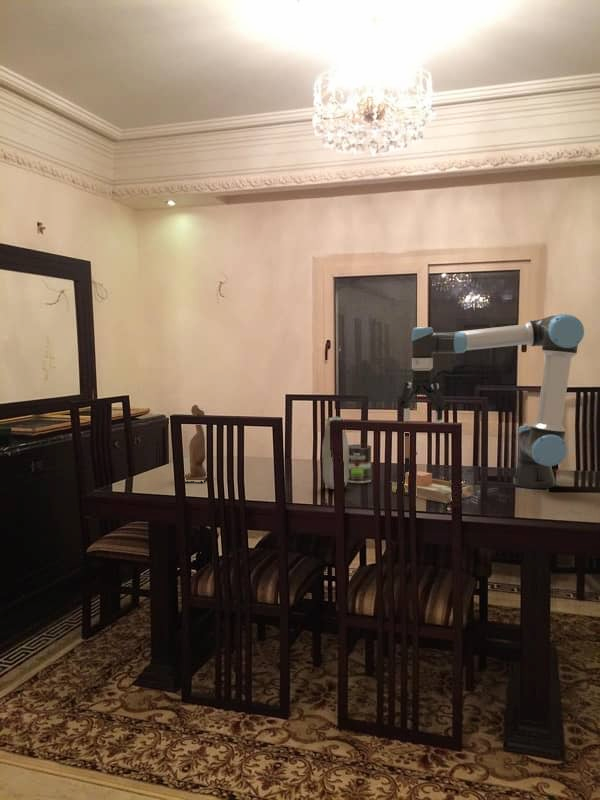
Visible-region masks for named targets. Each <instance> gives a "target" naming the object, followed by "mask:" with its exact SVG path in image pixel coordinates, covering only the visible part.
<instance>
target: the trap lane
mask: <svg viewBox="0 0 600 800" xmlns="http://www.w3.org/2000/svg"><path fill="white" fill-rule="evenodd" d="M391 482H392V492H391V493H396V489H397V483H398V482H395V481H391ZM451 482H452V481H447V480H443V479H437V478H432V484H430V485H426V486H417V497H416V498H419V499H424V500H428V501H434V502H437V503H438V502H439V503H442V504H450V503H452V502H451ZM461 484H462V496H463V499H466V498H469V497H472V496H473V494H474V489H473V485H472V484H471V485H470V484H465V483H461ZM404 488H405V492H408V484H407V483H405V484H404ZM396 494H397V493H396Z"/></svg>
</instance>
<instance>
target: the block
mask: <svg viewBox="0 0 600 800" xmlns="http://www.w3.org/2000/svg"><path fill="white" fill-rule="evenodd" d="M408 476H409V472H407V473H405V478H404V482H405V483H407V484H408ZM432 479H433V473H432V472H425V471H420V470H417V486H426V485H430V484H432Z"/></svg>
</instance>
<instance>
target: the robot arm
mask: <svg viewBox="0 0 600 800" xmlns="http://www.w3.org/2000/svg"><path fill="white" fill-rule="evenodd" d="M411 332H412V333H411V369H412V370H411V380H412V382H411V381H407V382H405V383H404V389H403V391H402V394H401V395H400V396H401V397H399V400H398V402H397V406H398V407H399V408H401V409H402V411H401V412H402V413H401V414H402V417H403V422H404V421H410V422H411V408H410V405H411V404H412V403H413V401H414V400H415V398H416V397H417V396H426V397H427V398H428V400H429V402H430V403H431V404H432V406H433V408H434V409H435V410H434V423H442V422H441V421H442V420H443V411H445V410H448V405H447V403H446V401H445V398H444V395H443V392H442V391H441V384H440V383H433V375H434V374H433V373H434V371H433V370H432V369H433V368H434V364H433V363H434V361H433V360H434V359H433V358H434V355H433V354H463V353H465V352H466V351H472V350H483V349H492V348H493V349H494V348H502V347H503V348H504V347H513V346H522V345H523V346H524V345H526V346H528V347H541V352H542V353H543V354H544V355H545V358H544V364H543V365H544V366H543V372H542V378H541V379H542V380H541V385H540V394H539V401H538V409H537V415H536V416H537V417H536V421H535V422H534V423H533V424H531V425H521V426H519V428H518V432H517V434H518V452H517V453H518V457H517V458H518V460H517V462H518V463H517V466H516V470H515V473H514V476H513V478H512V479H513V485H515V486H518V487H521V488H525V489H527V488H528V489H550V488H554V487H555V486H556V478H555V476H554V471H553V469H552V467H553V466H557V465H558V464H560V463H561V462H563V461H564V459H565V458H566V455H567V453H568V452H567V451H568V447H567V443H566V441H565V436H566V428H565V427H564V426H563V420H564V419H563V418H564V412H565V404H566V399H567V398H566V396H567V389H568V382H569V376H570V369H571V363H572V358H574V357H575V356H576V355H577V354H578V347H579V344H580V343H581V342H582V340H583V339H584V334H585V327H584V325H583V323H582V321H581V320H580V319H579V318H578V317H577V316H575V315H572V314H567V313H563V314H562V313H560V314H556V315H550V316H546V317H544V318H540V319H536V320H534V319H533V320H529V321H526V323H525V324H524V323H523V324H516V325H515V324H514V325H506V326H505V325H504V326H497V327H488V328H478V329H469V330H460V331H451V332H447V331H446V332H434V329H433V327H429V326H426V327H425V326H421V327H419V326H417V327H413V329H412V331H411ZM411 389H412V390H411Z"/></svg>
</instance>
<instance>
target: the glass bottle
mask: <svg viewBox="0 0 600 800" xmlns="http://www.w3.org/2000/svg"><path fill="white" fill-rule="evenodd" d="M333 420H343V421H344V419H343V418H342V417H340V416H332V417H329V418H328V419H327V420H326V422H325V427H324V428H325V429H324V436H323V440H322V441H323V442H322V449H321V450H322V451H321V452H322V453H321V457H322V458H321V459H322V479H323V482H324V484H325V485H326V488H328V489H330V490H333V462H332V457H331V450H330V422H331V421H333ZM346 431H347V430H346V429H345V430H344V431H343V460H344V482H345V487H346V486H347V484H348V483H349V482H348V479H349V446H348V445H349V441H348V437H347V432H346Z"/></svg>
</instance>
